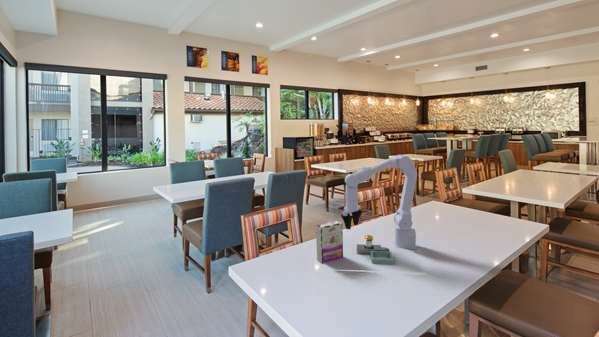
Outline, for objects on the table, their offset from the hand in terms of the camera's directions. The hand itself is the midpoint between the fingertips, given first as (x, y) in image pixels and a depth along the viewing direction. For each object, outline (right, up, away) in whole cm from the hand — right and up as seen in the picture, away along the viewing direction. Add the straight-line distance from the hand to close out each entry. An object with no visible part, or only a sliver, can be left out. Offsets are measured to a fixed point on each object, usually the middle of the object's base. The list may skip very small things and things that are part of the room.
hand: (352, 226), depth 156 cm
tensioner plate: (+9, -11, -7) cm, 15 cm away
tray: (+10, -12, -15) cm, 22 cm away
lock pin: (+7, -10, -6) cm, 14 cm away
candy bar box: (-12, -12, -13) cm, 21 cm away
